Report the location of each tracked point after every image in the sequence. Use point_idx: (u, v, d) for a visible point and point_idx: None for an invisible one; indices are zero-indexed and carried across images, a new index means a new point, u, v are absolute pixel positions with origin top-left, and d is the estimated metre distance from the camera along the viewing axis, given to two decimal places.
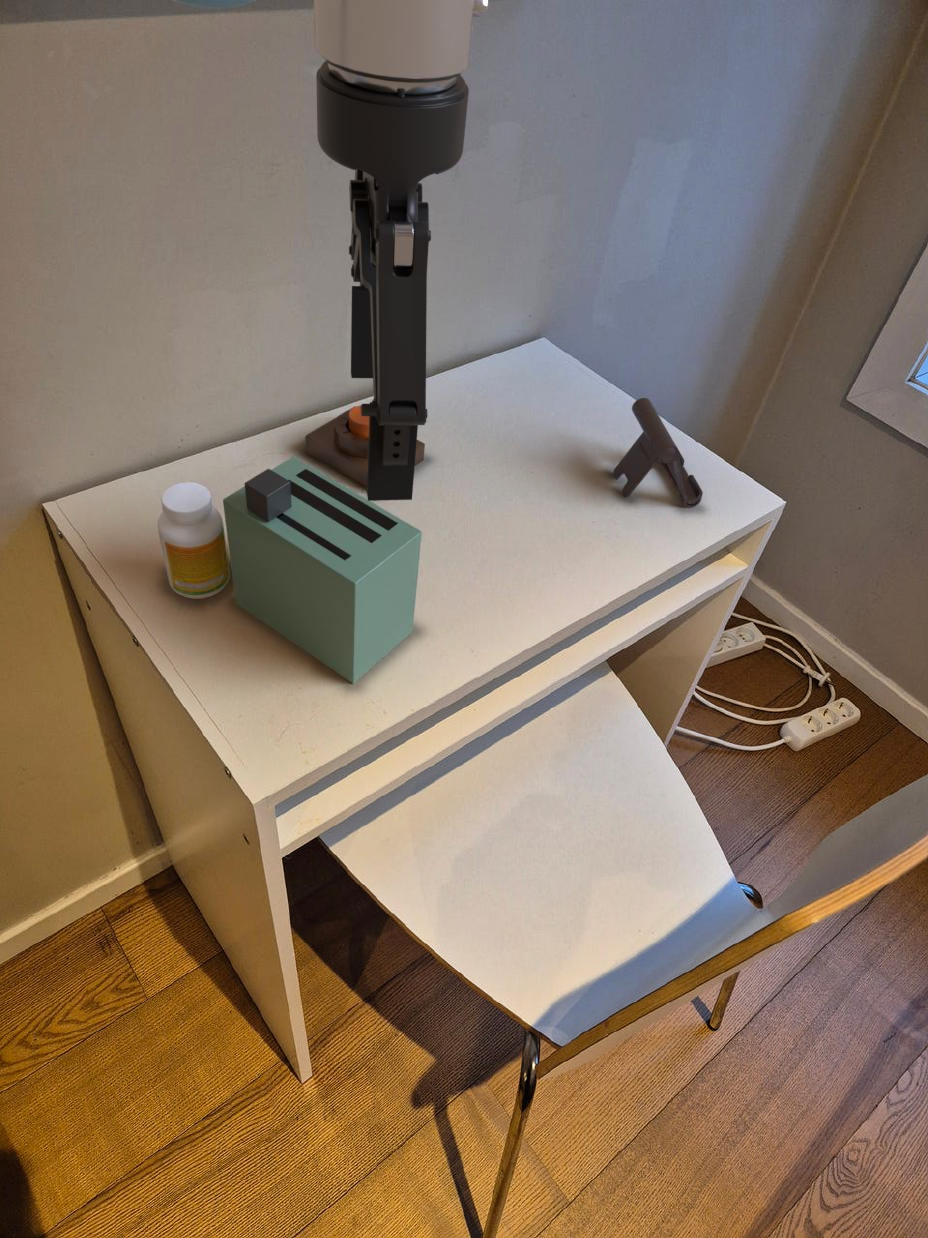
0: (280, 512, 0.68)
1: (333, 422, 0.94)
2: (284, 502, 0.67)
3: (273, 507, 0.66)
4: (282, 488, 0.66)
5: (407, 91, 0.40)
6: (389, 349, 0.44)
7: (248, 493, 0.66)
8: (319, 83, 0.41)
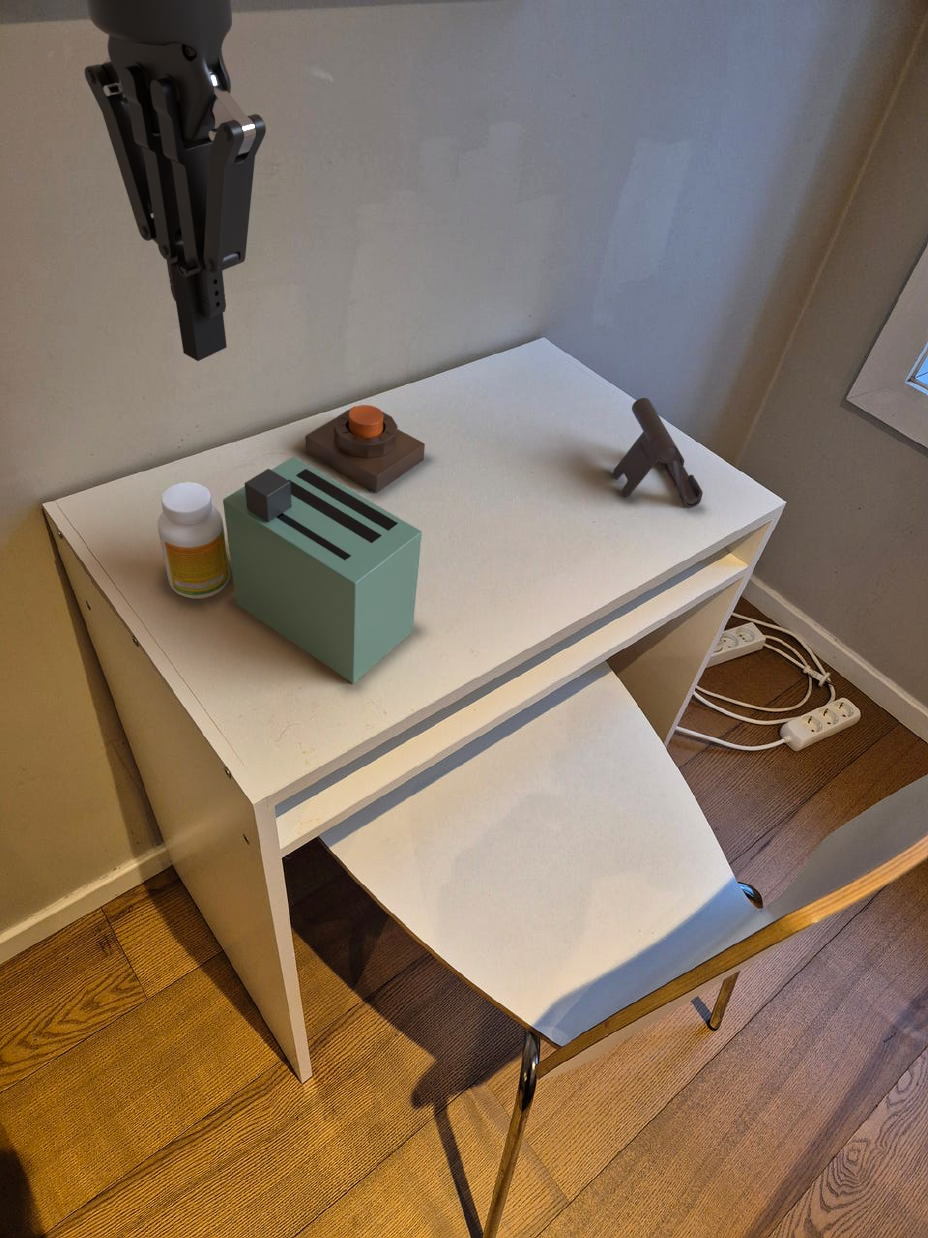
0: (280, 512, 0.68)
1: (333, 422, 0.94)
2: (284, 502, 0.67)
3: (273, 507, 0.66)
4: (282, 488, 0.66)
5: None
6: (226, 220, 0.52)
7: (248, 493, 0.66)
8: None
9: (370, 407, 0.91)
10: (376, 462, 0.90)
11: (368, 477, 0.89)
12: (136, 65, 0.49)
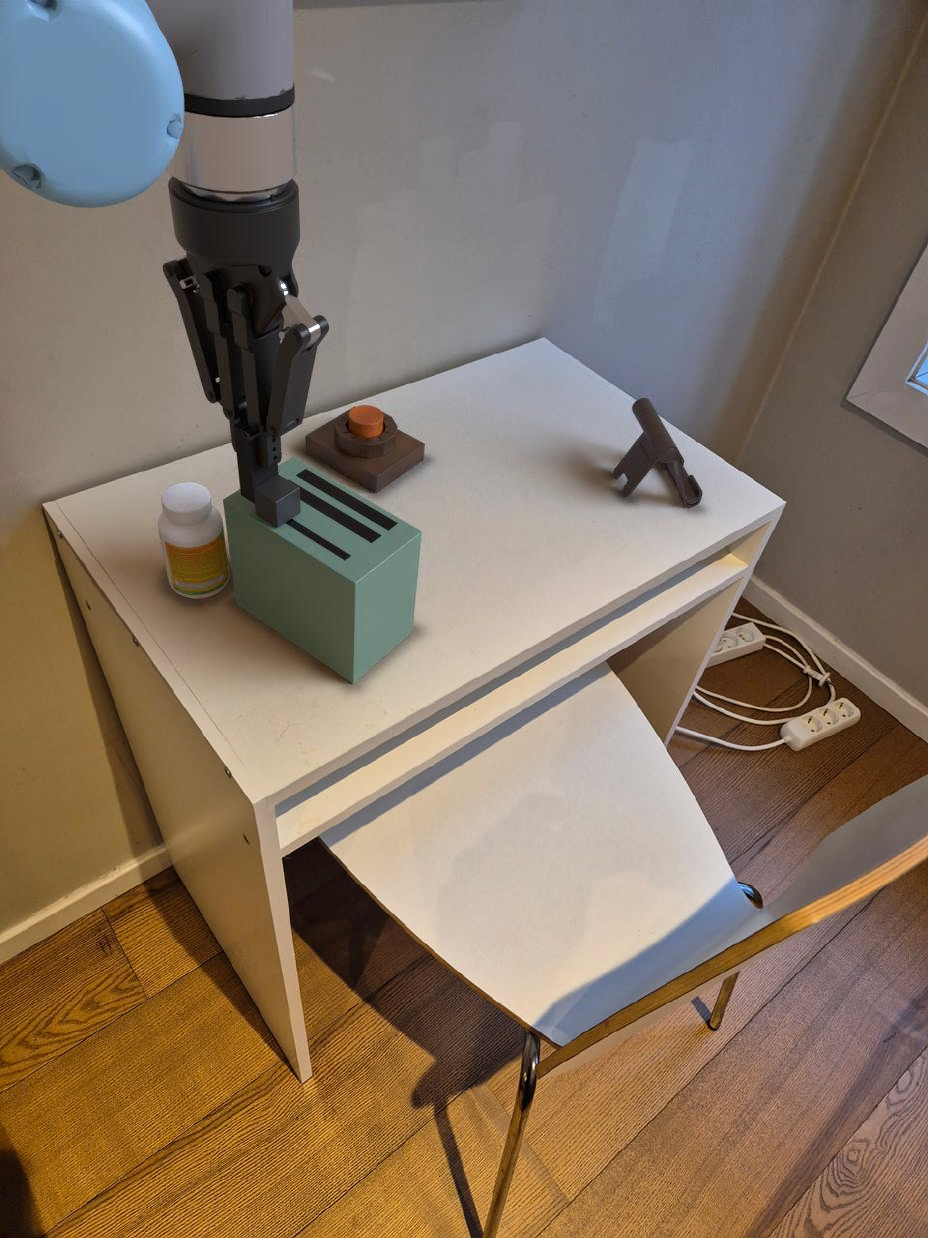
0: (289, 518, 0.67)
1: (333, 422, 0.94)
2: (293, 508, 0.67)
3: (282, 513, 0.66)
4: (291, 494, 0.66)
5: (276, 193, 0.50)
6: (289, 398, 0.58)
7: (257, 498, 0.66)
8: (197, 208, 0.48)
9: (370, 407, 0.91)
10: (376, 462, 0.90)
11: (368, 477, 0.89)
12: (213, 271, 0.54)
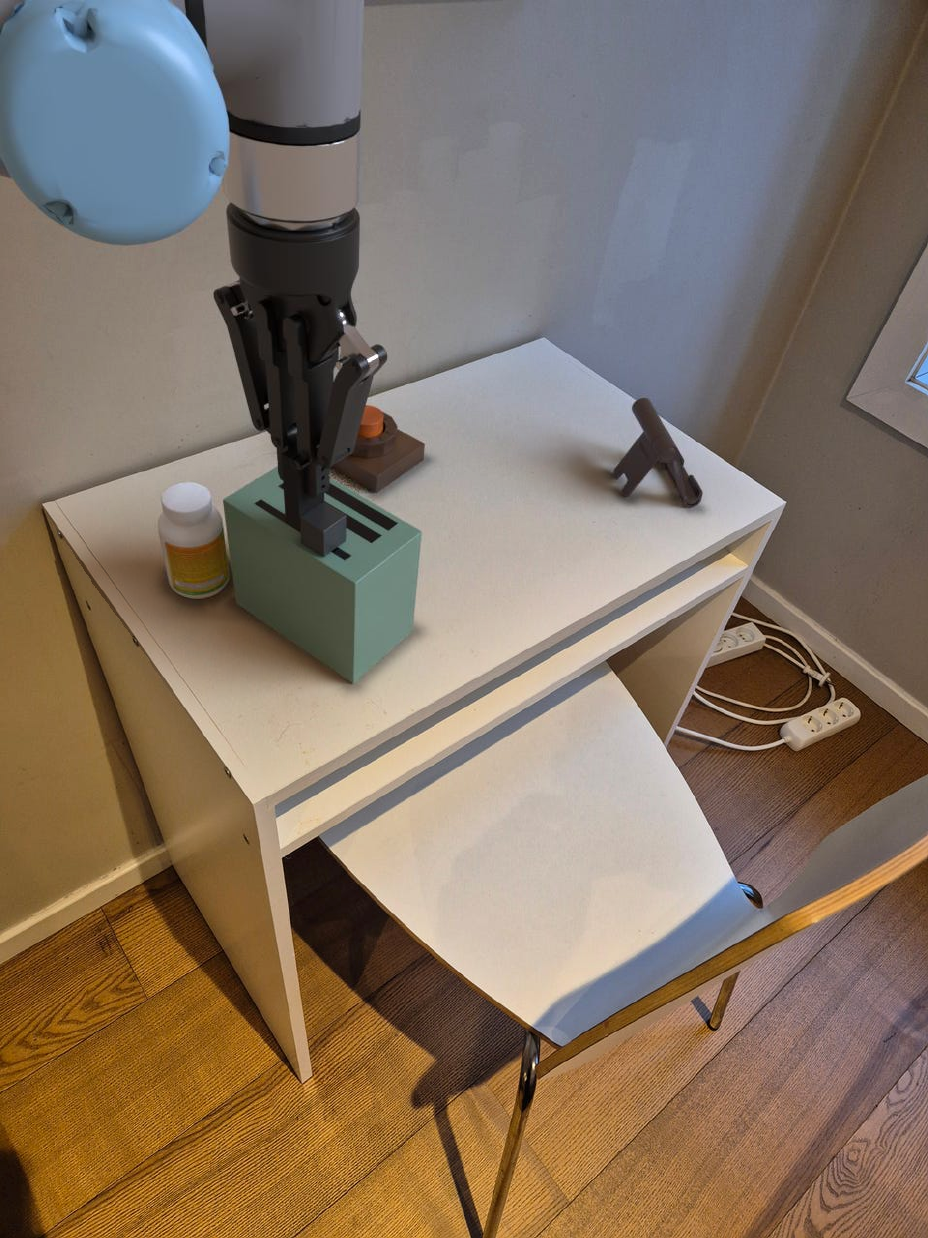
0: (335, 546, 0.66)
1: None
2: (339, 536, 0.65)
3: (329, 542, 0.64)
4: (338, 523, 0.64)
5: (338, 221, 0.48)
6: (343, 428, 0.56)
7: (303, 527, 0.64)
8: (258, 238, 0.47)
9: (370, 407, 0.91)
10: (376, 462, 0.90)
11: (368, 477, 0.89)
12: (268, 299, 0.53)
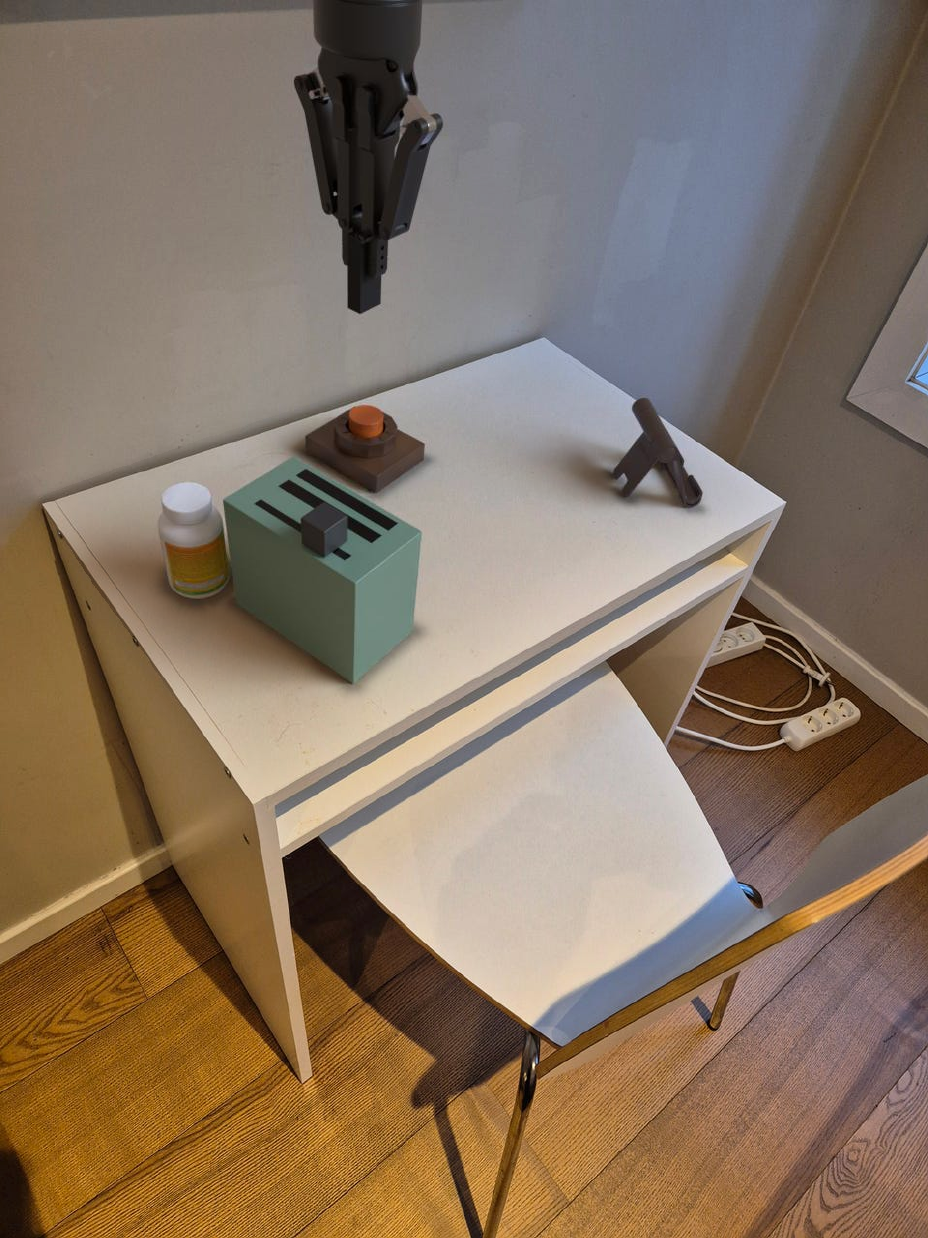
0: (336, 547, 0.66)
1: (333, 422, 0.94)
2: (340, 537, 0.65)
3: (330, 542, 0.64)
4: (339, 523, 0.64)
5: None
6: (403, 197, 0.66)
7: (303, 528, 0.64)
8: (340, 1, 0.57)
9: (370, 407, 0.91)
10: (376, 462, 0.90)
11: (368, 477, 0.89)
12: (343, 75, 0.62)
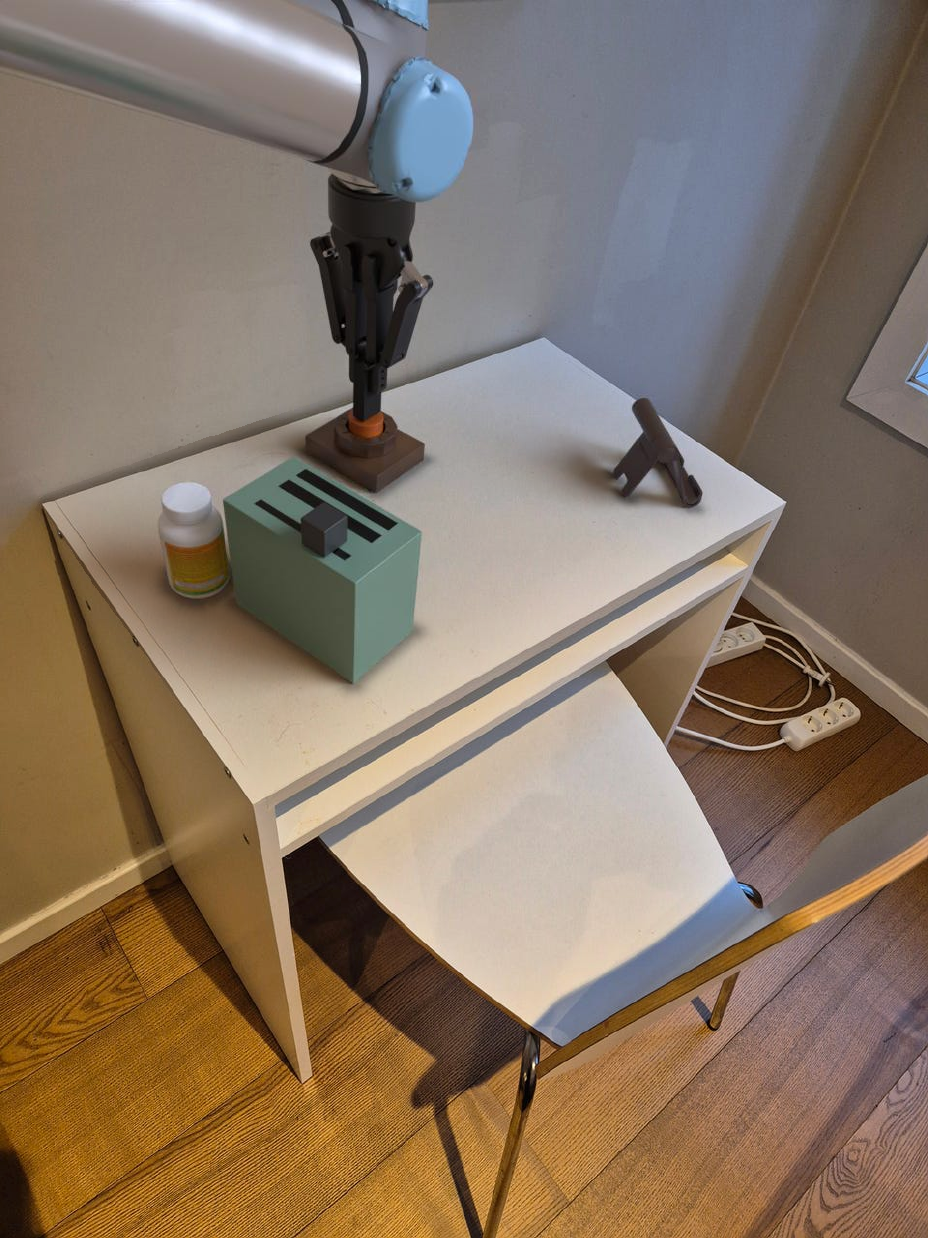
0: (336, 547, 0.66)
1: (333, 422, 0.94)
2: (340, 537, 0.65)
3: (330, 542, 0.64)
4: (339, 523, 0.64)
5: None
6: (400, 337, 0.80)
7: (303, 528, 0.64)
8: (351, 198, 0.71)
9: None
10: (376, 462, 0.90)
11: (368, 477, 0.89)
12: (351, 243, 0.77)
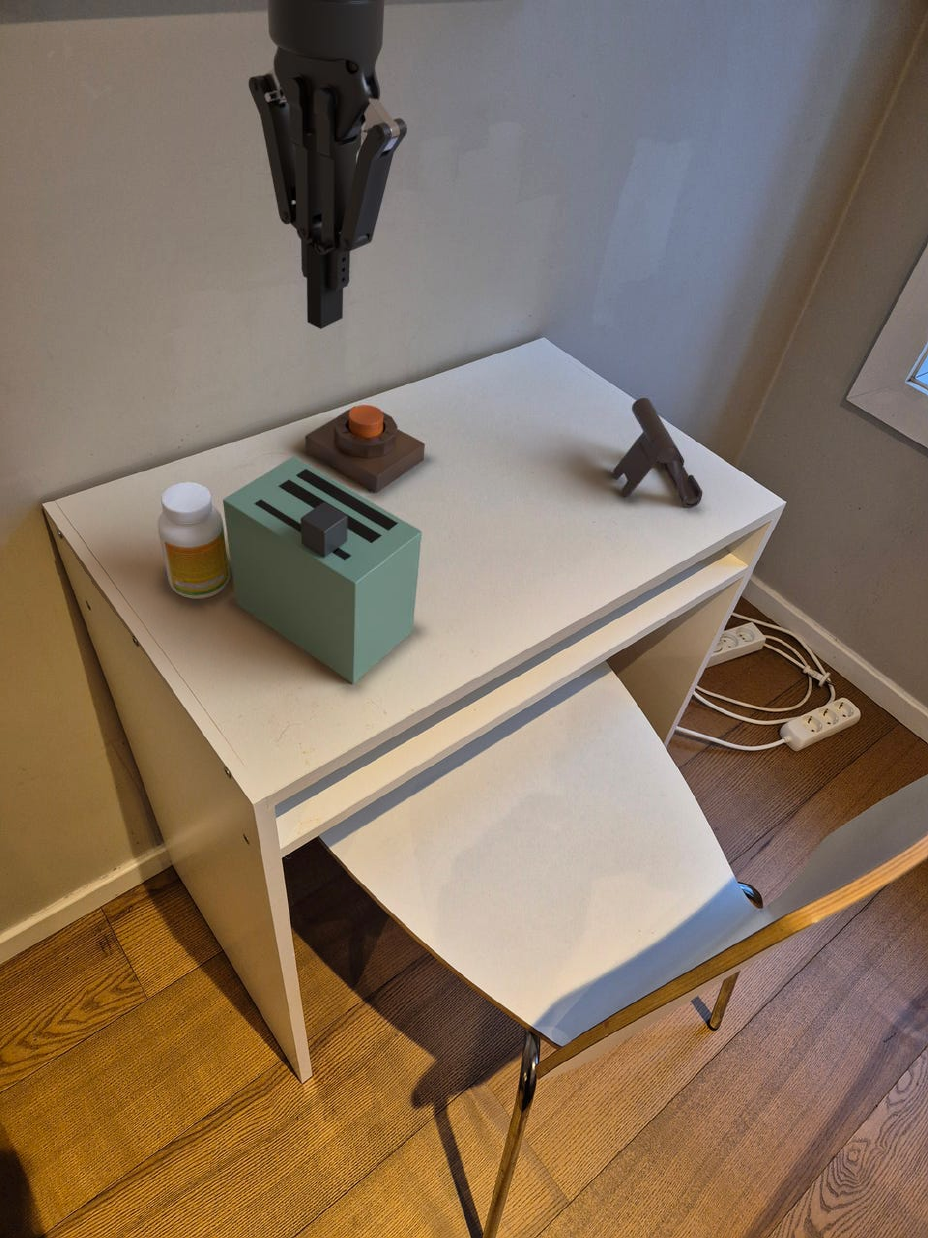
0: (336, 547, 0.66)
1: (333, 422, 0.94)
2: (340, 537, 0.65)
3: (330, 542, 0.64)
4: (339, 523, 0.64)
5: None
6: (365, 206, 0.62)
7: (303, 528, 0.64)
8: None
9: (370, 407, 0.91)
10: (376, 462, 0.90)
11: (368, 477, 0.89)
12: (300, 76, 0.59)
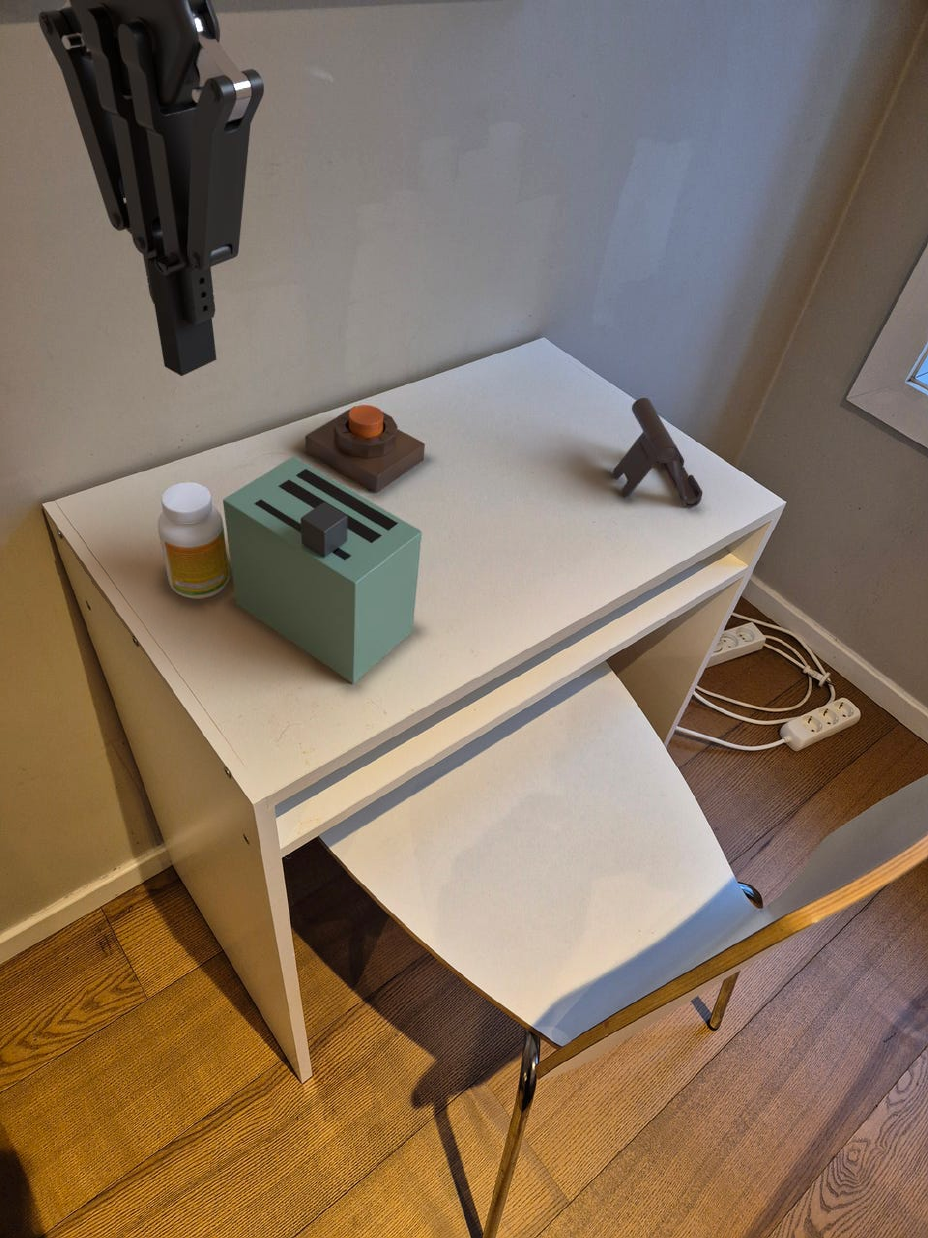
0: (336, 547, 0.66)
1: (333, 422, 0.94)
2: (340, 537, 0.65)
3: (330, 542, 0.64)
4: (339, 523, 0.64)
5: None
6: (214, 204, 0.42)
7: (303, 528, 0.64)
8: None
9: (370, 407, 0.91)
10: (376, 462, 0.90)
11: (368, 477, 0.89)
12: (101, 7, 0.39)
